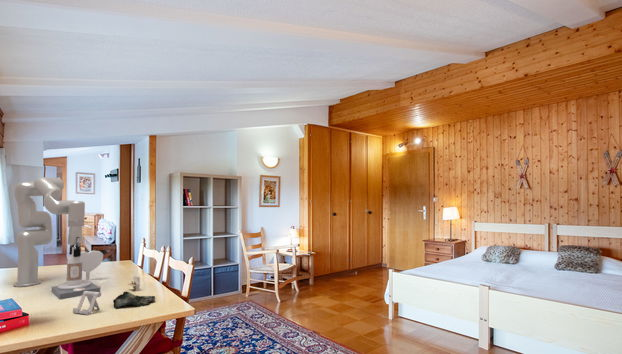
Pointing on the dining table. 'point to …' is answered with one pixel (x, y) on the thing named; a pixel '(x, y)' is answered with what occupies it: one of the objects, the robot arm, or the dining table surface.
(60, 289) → the dial scale
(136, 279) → the architectural model
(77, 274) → the bath foam
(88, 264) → the heart sculpture
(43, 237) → the robot arm
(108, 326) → the dining table surface
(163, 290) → the dining table surface
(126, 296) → the decorative rock
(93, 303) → the portable electronic device stand
